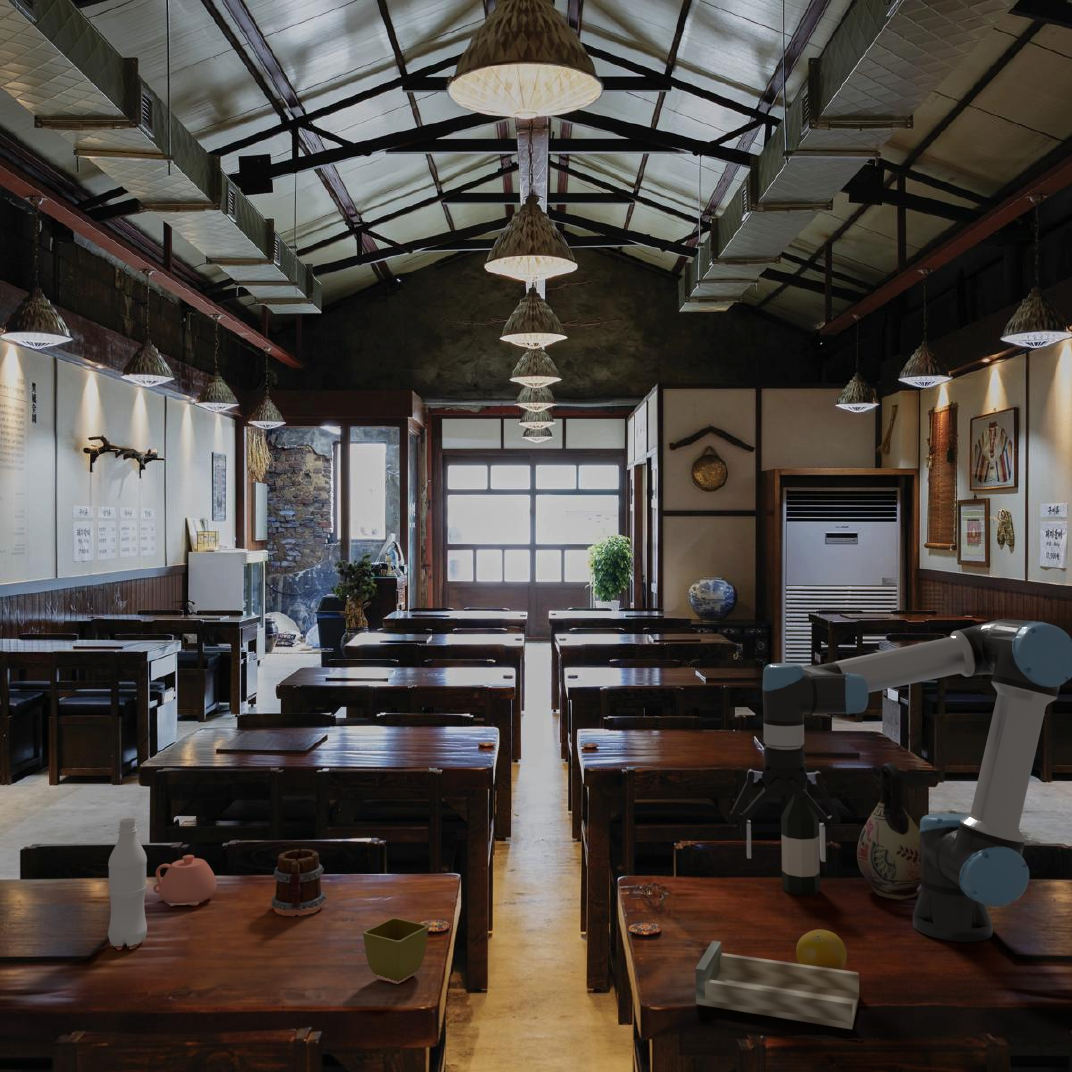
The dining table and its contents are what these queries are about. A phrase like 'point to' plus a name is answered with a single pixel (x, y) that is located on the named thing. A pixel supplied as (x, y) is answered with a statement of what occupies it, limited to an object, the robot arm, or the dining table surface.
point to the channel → (777, 988)
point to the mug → (298, 880)
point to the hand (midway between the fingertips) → (785, 858)
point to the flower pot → (396, 948)
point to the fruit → (821, 950)
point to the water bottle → (127, 887)
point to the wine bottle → (800, 847)
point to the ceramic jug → (890, 841)
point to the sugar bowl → (186, 881)
